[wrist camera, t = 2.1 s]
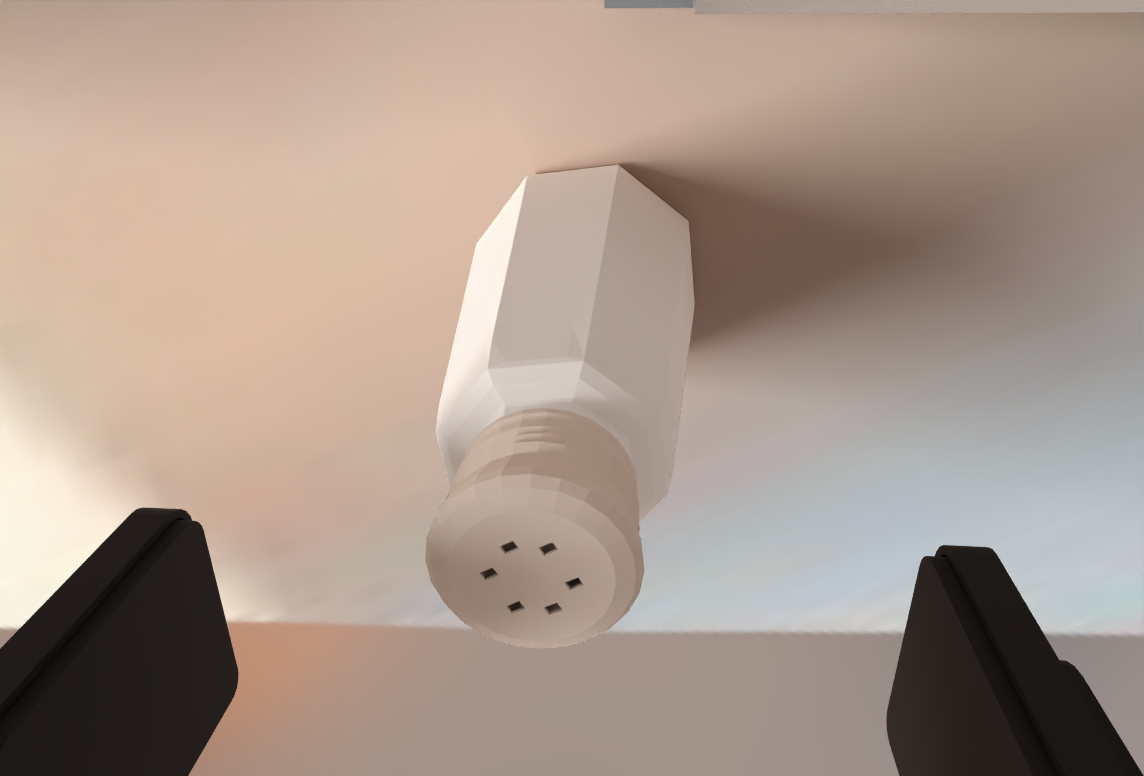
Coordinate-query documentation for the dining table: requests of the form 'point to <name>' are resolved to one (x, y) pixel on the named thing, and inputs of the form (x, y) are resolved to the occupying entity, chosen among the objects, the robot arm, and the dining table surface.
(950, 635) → the robot arm
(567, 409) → the pepper shaker
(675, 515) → the dining table surface
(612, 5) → the scale base
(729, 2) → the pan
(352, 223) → the dining table surface
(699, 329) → the dining table surface
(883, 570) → the dining table surface
